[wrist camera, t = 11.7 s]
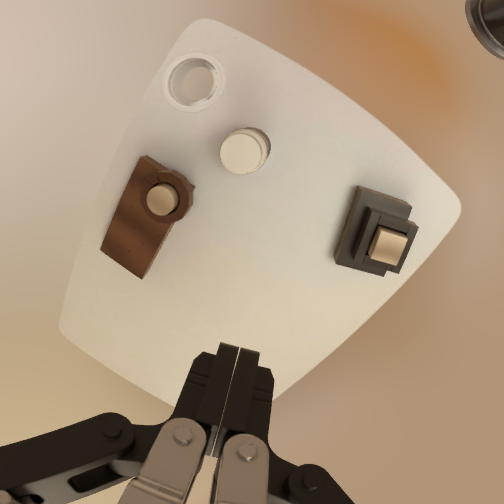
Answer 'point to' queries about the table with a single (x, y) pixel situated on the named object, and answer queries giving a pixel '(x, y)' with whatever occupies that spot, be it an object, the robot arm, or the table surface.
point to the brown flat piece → (144, 217)
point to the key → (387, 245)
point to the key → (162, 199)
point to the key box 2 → (373, 230)
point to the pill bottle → (245, 150)
